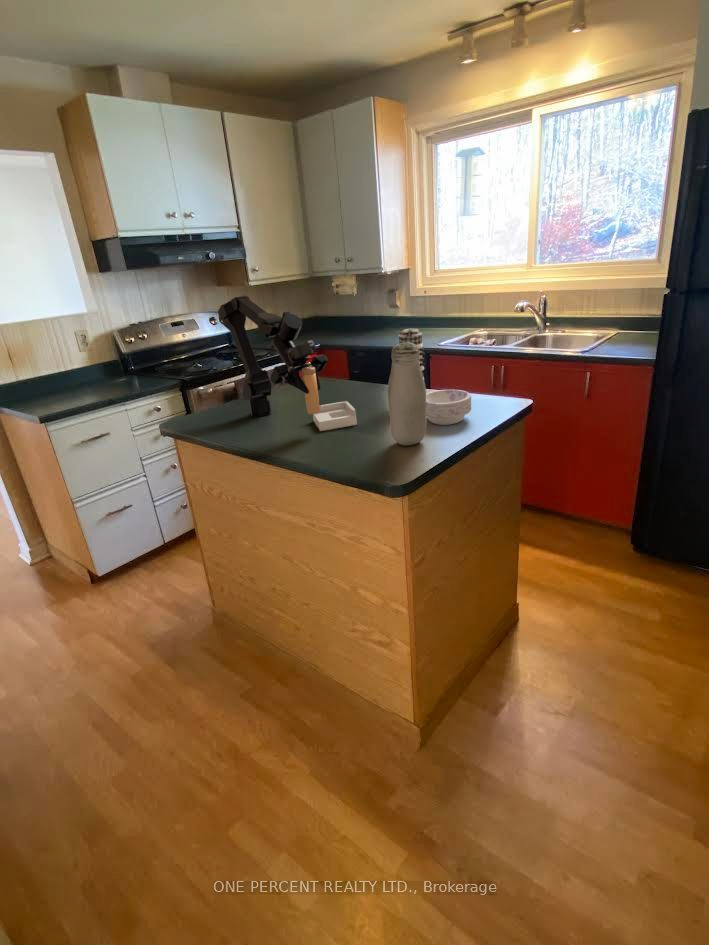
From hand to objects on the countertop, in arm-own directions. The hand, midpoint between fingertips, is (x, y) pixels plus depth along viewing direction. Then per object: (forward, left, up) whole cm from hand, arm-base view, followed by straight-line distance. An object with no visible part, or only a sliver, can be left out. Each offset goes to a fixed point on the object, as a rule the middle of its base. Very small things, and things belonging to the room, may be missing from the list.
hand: (313, 391), depth 154 cm
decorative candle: (+37, +14, -14) cm, 42 cm away
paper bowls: (+39, -9, -14) cm, 42 cm away
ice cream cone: (-1, +1, -7) cm, 7 cm away
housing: (+7, +7, -13) cm, 17 cm away
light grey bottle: (+22, -22, -14) cm, 34 cm away
